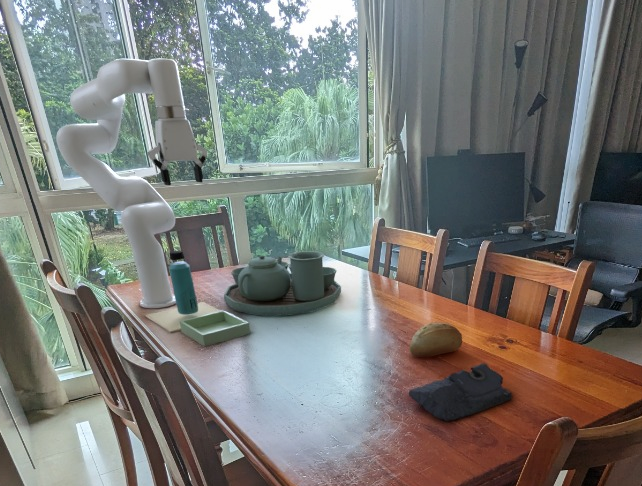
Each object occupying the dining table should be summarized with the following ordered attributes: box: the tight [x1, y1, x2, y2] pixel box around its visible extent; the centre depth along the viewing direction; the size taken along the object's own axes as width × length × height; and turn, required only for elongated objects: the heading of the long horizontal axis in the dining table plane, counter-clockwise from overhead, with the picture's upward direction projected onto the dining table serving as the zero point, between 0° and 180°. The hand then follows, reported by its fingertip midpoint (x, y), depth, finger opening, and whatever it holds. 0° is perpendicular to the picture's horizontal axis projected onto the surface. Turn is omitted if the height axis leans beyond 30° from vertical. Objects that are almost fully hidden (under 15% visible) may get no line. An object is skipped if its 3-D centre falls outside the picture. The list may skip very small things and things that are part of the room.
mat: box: [145, 301, 221, 334], centre depth 163 cm, size 20×20×1 cm
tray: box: [179, 309, 251, 347], centre depth 150 cm, size 16×15×3 cm
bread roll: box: [409, 322, 463, 358], centre depth 132 cm, size 10×15×8 cm, turn 114°
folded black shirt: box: [408, 362, 513, 422], centre depth 112 cm, size 15×22×5 cm
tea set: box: [223, 250, 342, 317], centre depth 174 cm, size 40×40×16 cm
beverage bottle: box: [168, 250, 198, 315], centre depth 157 cm, size 6×7×20 cm
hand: (183, 183), depth 148 cm, fingers open, 9 cm apart
